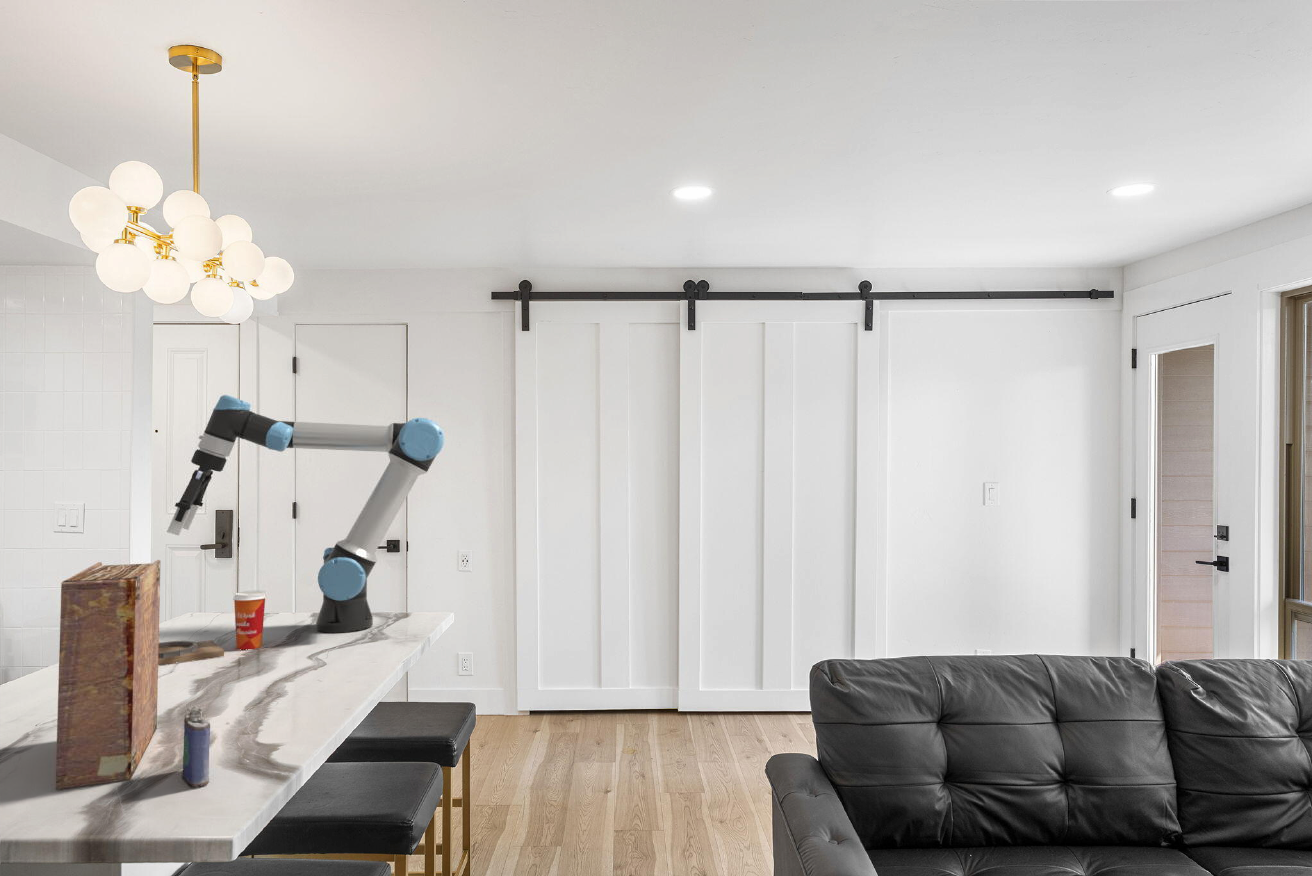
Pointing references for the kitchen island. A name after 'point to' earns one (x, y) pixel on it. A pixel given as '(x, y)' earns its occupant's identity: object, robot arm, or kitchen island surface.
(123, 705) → the book
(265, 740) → the kitchen island surface
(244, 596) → the paper cup
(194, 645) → the seat board
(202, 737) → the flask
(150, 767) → the kitchen island surface
